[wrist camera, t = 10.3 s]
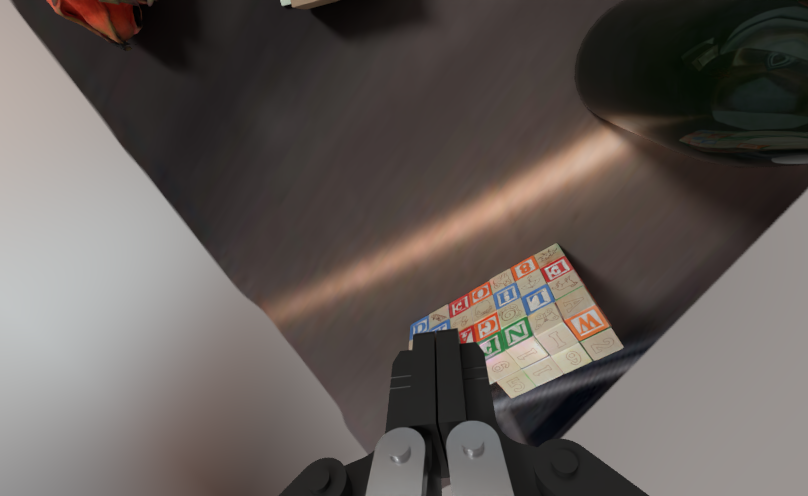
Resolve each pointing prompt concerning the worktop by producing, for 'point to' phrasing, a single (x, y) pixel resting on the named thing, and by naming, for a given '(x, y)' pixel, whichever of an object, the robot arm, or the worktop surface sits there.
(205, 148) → the worktop surface
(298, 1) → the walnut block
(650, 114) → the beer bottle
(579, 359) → the stack of blocks
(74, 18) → the dragon fruit
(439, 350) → the robot arm
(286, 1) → the mat
